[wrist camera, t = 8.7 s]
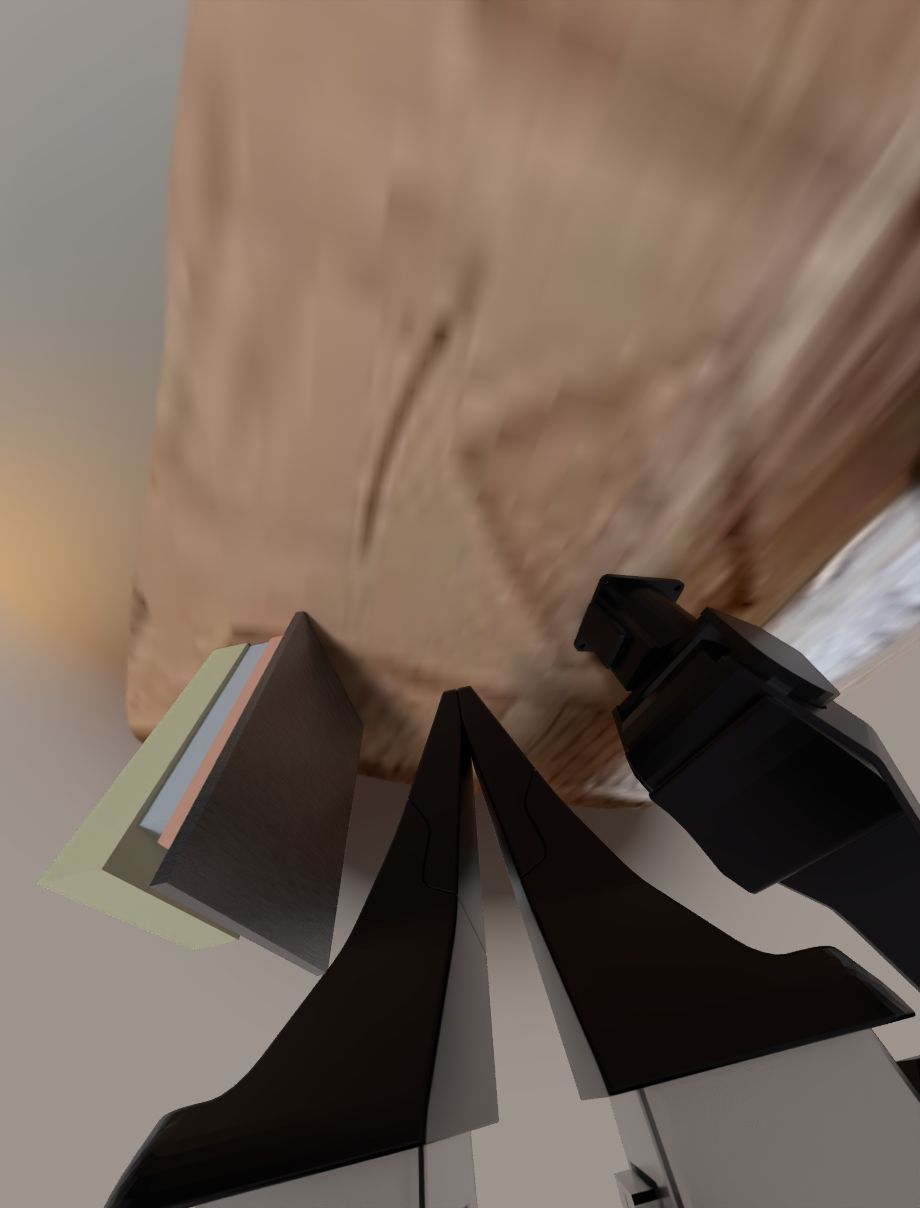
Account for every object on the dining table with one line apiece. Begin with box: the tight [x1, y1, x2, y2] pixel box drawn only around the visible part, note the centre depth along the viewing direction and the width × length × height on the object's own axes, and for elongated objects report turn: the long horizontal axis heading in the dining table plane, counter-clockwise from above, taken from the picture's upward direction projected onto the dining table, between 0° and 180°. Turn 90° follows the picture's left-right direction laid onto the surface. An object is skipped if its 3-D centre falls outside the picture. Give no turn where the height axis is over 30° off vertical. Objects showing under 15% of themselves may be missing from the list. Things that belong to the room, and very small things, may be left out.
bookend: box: [149, 611, 363, 976], centre depth 18 cm, size 1×12×14 cm, turn 11°
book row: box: [37, 635, 283, 950], centre depth 19 cm, size 6×9×12 cm, turn 9°
